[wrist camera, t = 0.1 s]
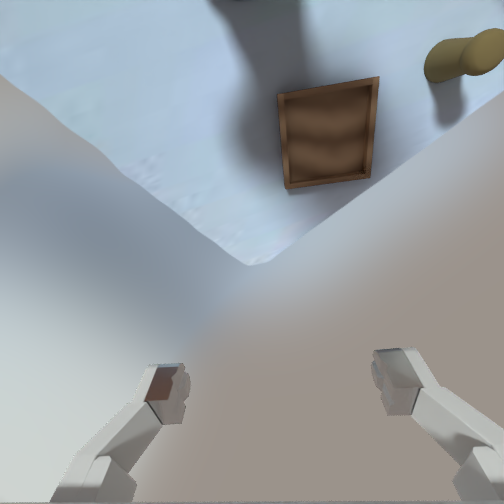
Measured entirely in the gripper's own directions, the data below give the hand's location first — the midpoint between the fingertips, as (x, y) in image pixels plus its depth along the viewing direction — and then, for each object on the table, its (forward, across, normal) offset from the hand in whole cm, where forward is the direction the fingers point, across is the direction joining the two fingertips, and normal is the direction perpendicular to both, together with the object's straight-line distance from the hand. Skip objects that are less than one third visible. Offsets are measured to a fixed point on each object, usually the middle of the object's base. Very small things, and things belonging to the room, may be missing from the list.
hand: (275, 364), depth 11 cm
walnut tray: (+48, -12, -2) cm, 49 cm away
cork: (+48, -32, -11) cm, 59 cm away
